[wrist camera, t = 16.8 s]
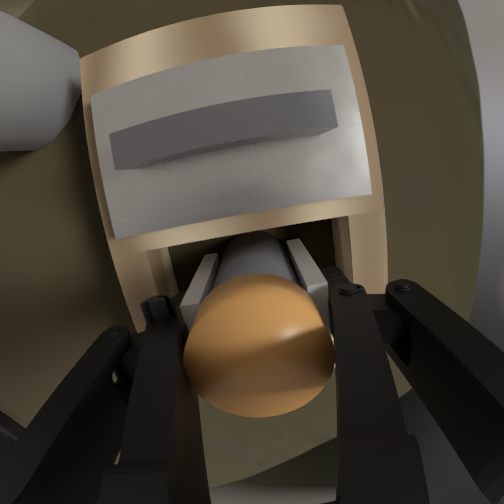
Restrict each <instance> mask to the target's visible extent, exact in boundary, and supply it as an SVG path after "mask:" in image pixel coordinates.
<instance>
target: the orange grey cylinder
mask: <svg viewBox="0 0 504 504" xmlns="http://www.w3.org/2000/svg"><path fill="white" fill-rule="evenodd" d="M183 364H184V367H185V370H186V373H187V375H188V378H189V380H190V383H191V385H192V387H193V389H194V390H195V391H196V392H197V393H198V394H199V395H200V396H201V397H202V398H203V399H204V400H205V401H207V402H208V403H209V404H211V405H213V406H214V407H216V408H218V409H220V410H223V411H225V412H228V413H231V414H235V415H239V416H245V417H270V416H276V415H281V414H285V413H287V412H290V411H293V410H295V409H297V408H300V407H301V406H303V405H305V404H306V403H308V402H309V401H311V400H312V399H313V398H314V397H316V396H317V395H318V394H319V393H320V392H321V390H322V389H323V388H324V387H325V385H326V384H327V382H328V381H329V379H330V377H331V375H332V372H333V369H334V364H335V349H334V344H333V341H332V339H331V336H330V334H329V332H328V329H327V327H326V325H325V323H324V320H323V318H322V316H321V314H320V311H319V309H318V307H317V305H316V303H315V302H314V300H313V298H312V297H311V296H310V295H309V294H308V293H307V292H306V291H305V290H304V289H303V288H302V287H300V284H299V282H298V279H297V277H296V274H295V272H294V269H293V267H292V264H291V262H290V259H289V257H288V254H287V252H286V250H285V248H284V246H283V244H282V243H281V242H280V241H279V240H278V239H277V238H276V237H274V236H273V235H271V234H269V233H266V232H262V231H251V232H246V233H242V234H240V235H238V236H236V237H235V238H234V239H232V240H231V241H230V243H229V244H228V245H227V247H226V249H225V251H224V253H223V257H222V260H221V263H220V266H219V270H218V273H217V276H216V279H215V283H214V286H213V289H212V291H211V292H210V293H209V294H208V295H207V296H206V297H205V298H204V300H203V301H202V303H201V304H200V306H199V308H198V310H197V313H196V316H195V319H194V322H193V324H192V327H191V330H190V333H189V336H188V339H187V342H186V345H185V349H184V355H183Z"/></svg>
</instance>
